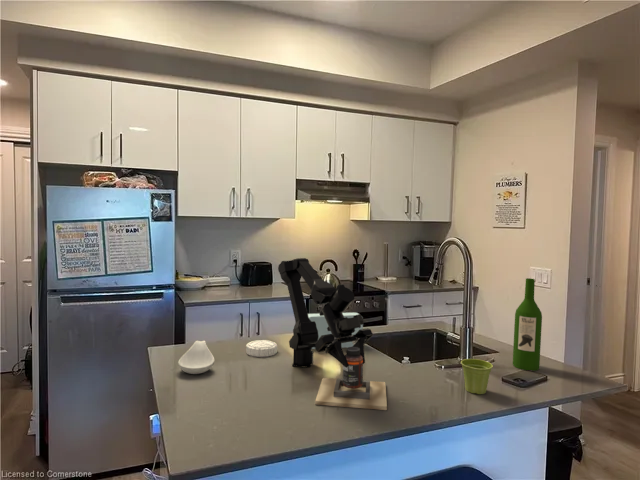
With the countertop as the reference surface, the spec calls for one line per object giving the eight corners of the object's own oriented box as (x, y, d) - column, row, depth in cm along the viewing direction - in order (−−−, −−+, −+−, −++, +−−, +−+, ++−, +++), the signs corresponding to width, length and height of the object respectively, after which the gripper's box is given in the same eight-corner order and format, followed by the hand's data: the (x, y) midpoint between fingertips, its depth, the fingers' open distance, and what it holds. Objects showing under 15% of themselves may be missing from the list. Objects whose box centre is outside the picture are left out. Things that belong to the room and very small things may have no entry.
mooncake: (266, 359, 159) (266, 349, 159) (239, 354, 164) (239, 345, 164) (282, 350, 170) (282, 341, 170) (257, 346, 175) (257, 337, 175)
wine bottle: (513, 368, 155) (517, 279, 154) (512, 361, 164) (516, 276, 162) (540, 372, 152) (545, 281, 150) (538, 364, 160) (542, 278, 159)
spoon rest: (213, 377, 140) (213, 355, 140) (175, 379, 138) (175, 357, 137) (216, 354, 163) (216, 335, 163) (184, 355, 161) (184, 336, 160)
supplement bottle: (358, 381, 132) (359, 345, 132) (365, 388, 127) (366, 351, 126) (340, 382, 131) (341, 346, 130) (345, 390, 125) (346, 352, 125)
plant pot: (476, 399, 128) (477, 370, 127) (453, 387, 136) (454, 360, 136) (498, 394, 132) (499, 366, 131) (474, 383, 140) (475, 357, 140)
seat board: (315, 404, 121) (315, 395, 121) (322, 380, 139) (322, 373, 139) (386, 410, 119) (387, 401, 118) (385, 385, 136) (385, 377, 136)
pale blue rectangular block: (307, 350, 171) (308, 317, 170) (304, 345, 177) (305, 313, 176) (362, 347, 177) (363, 315, 176) (358, 343, 182) (359, 312, 182)
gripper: (321, 308, 126) (342, 356, 117) (370, 303, 136) (393, 347, 127) (306, 328, 133) (325, 375, 124) (354, 322, 143) (374, 364, 134)
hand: (355, 365), depth 127 cm, fingers closed on supplement bottle, 6 cm apart
